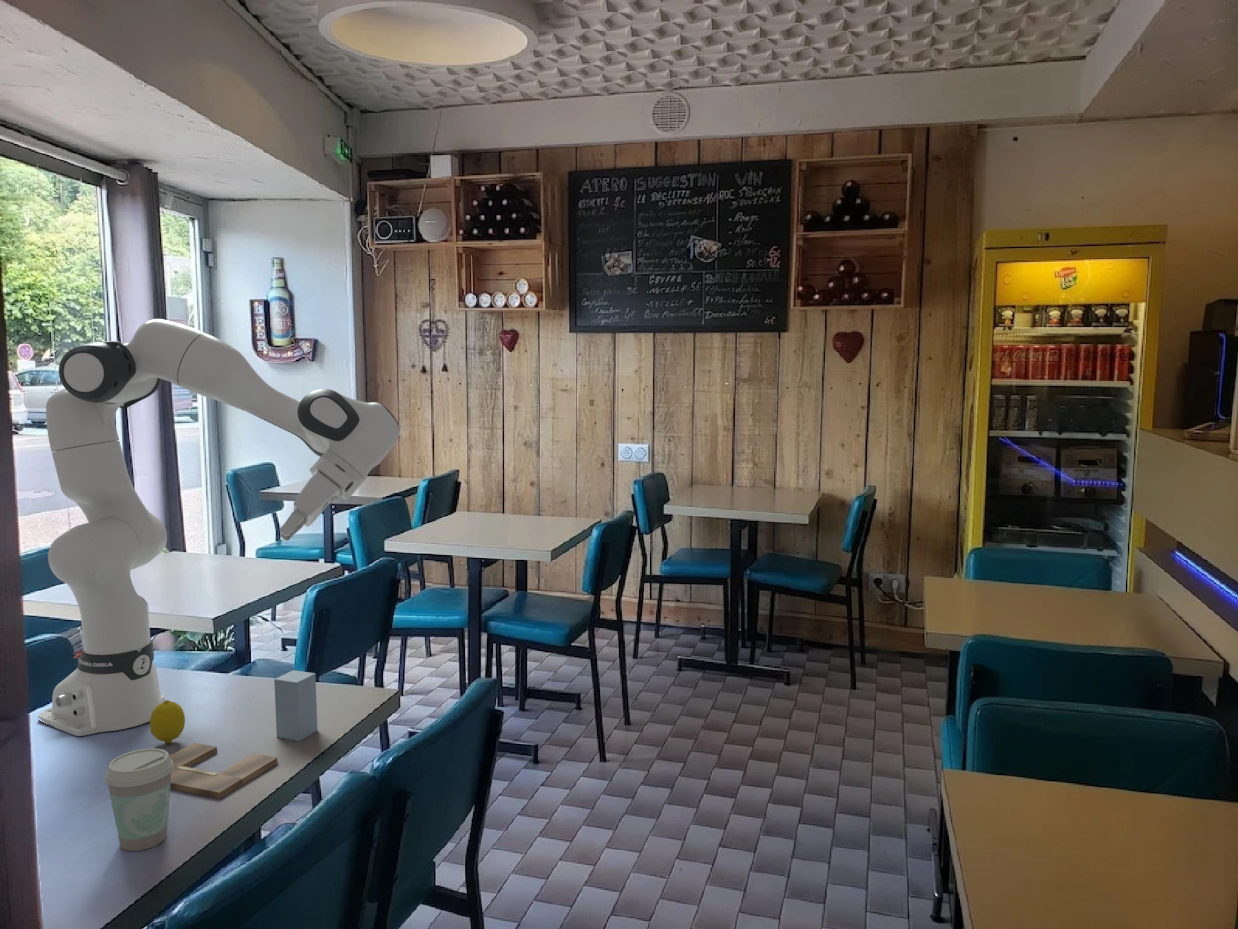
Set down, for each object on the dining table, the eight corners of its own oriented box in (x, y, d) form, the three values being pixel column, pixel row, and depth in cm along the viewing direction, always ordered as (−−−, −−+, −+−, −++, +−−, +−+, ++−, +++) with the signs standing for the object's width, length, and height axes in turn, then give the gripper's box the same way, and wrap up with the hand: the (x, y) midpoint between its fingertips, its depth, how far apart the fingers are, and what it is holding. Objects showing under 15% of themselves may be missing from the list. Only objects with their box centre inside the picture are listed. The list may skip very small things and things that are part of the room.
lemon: (192, 737, 156) (190, 695, 156) (173, 750, 151) (171, 707, 150) (163, 736, 157) (161, 694, 156) (144, 749, 152) (141, 705, 151)
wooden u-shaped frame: (131, 780, 140) (131, 774, 140) (194, 748, 152) (194, 742, 152) (219, 798, 134) (218, 792, 134) (277, 763, 146) (277, 757, 146)
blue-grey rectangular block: (276, 737, 157) (274, 679, 155) (295, 726, 161) (293, 670, 160) (299, 741, 155) (297, 682, 154) (317, 730, 160) (315, 673, 159)
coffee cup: (110, 864, 116) (105, 779, 115) (107, 835, 123) (102, 755, 122) (181, 845, 121) (176, 763, 120) (173, 819, 128) (169, 741, 127)
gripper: (319, 476, 168) (270, 531, 163) (322, 457, 149) (266, 519, 145) (345, 496, 169) (297, 551, 165) (351, 480, 150) (297, 542, 146)
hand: (283, 536), depth 154 cm, fingers open, 8 cm apart
